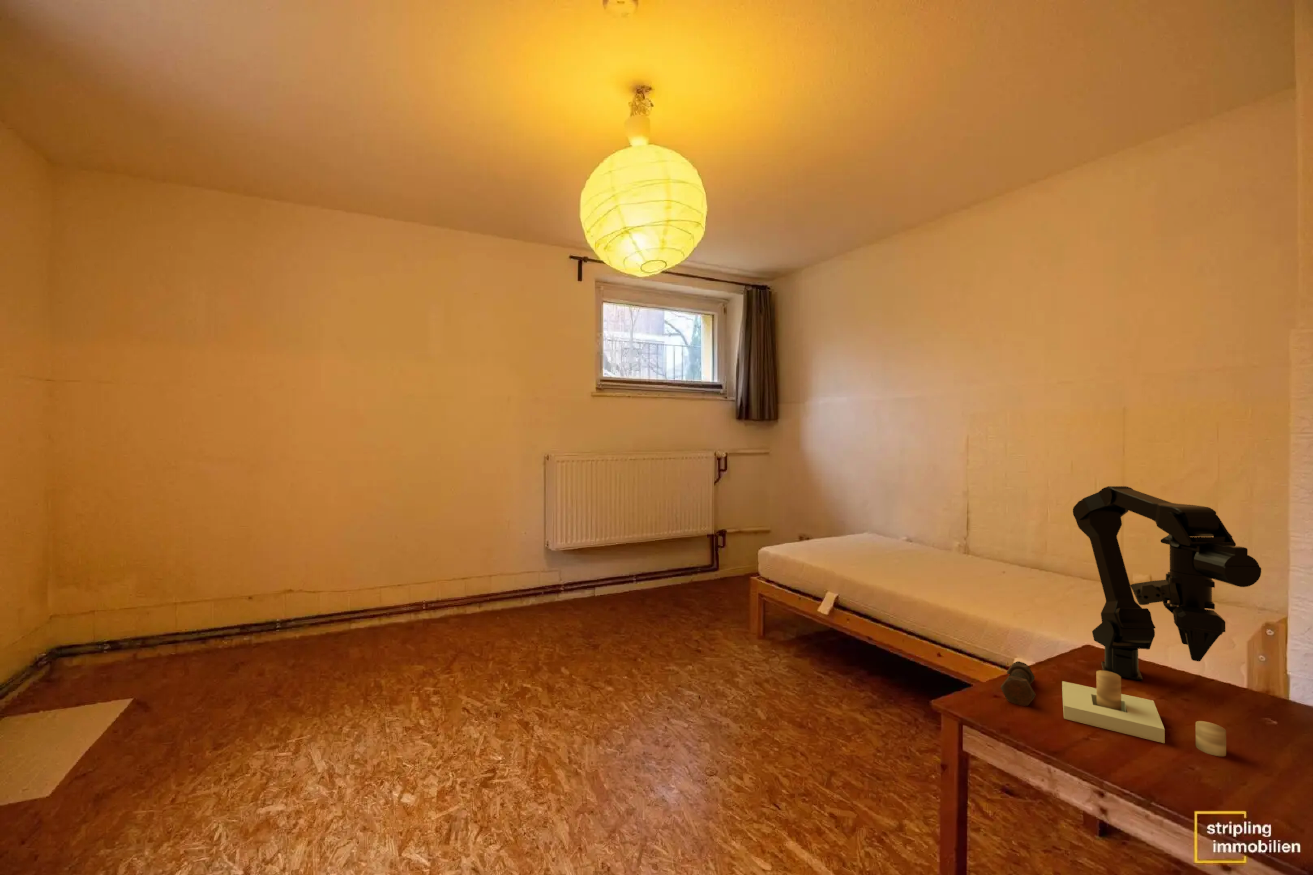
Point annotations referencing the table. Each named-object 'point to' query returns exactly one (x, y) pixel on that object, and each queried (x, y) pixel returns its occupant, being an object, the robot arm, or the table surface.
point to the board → (1113, 713)
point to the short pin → (1210, 738)
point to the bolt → (1019, 684)
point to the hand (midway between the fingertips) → (1190, 652)
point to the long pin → (1108, 690)
